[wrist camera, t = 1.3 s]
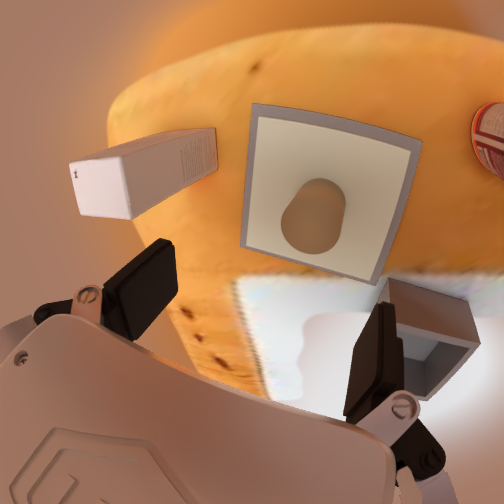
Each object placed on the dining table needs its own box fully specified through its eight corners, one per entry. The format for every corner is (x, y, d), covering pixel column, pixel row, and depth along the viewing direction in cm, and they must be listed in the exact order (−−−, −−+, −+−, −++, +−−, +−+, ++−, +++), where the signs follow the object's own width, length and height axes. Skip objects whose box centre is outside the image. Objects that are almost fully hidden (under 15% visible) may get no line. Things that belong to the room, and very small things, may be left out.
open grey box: (467, 301, 21) (480, 343, 16) (425, 361, 27) (427, 401, 22) (388, 277, 24) (390, 320, 19) (355, 344, 29) (348, 385, 25)
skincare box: (169, 170, 27) (79, 216, 17) (165, 131, 25) (66, 161, 15) (220, 171, 25) (131, 223, 15) (217, 126, 23) (118, 154, 13)
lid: (408, 149, 17) (425, 164, 13) (369, 274, 24) (367, 318, 19) (262, 116, 21) (231, 120, 16) (250, 240, 27) (222, 274, 22)
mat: (421, 140, 17) (422, 141, 17) (375, 283, 25) (375, 285, 24) (254, 103, 21) (252, 103, 20) (241, 244, 28) (239, 246, 28)
